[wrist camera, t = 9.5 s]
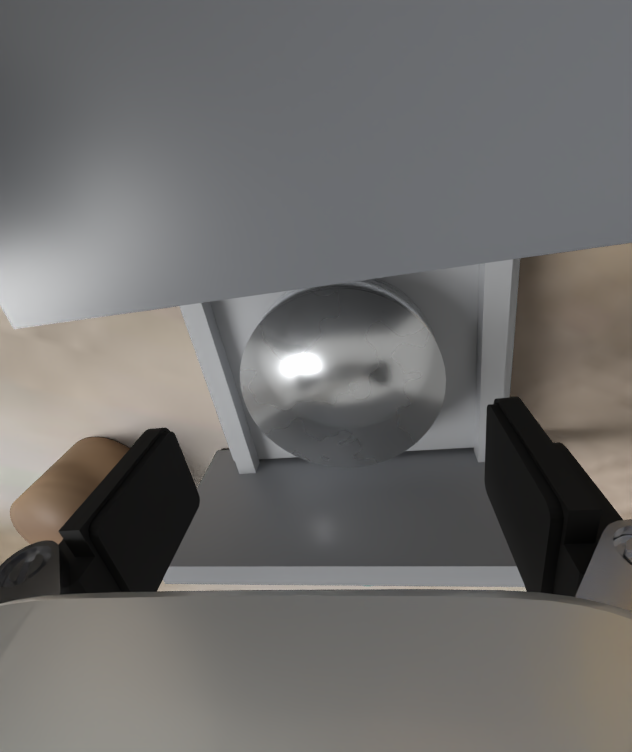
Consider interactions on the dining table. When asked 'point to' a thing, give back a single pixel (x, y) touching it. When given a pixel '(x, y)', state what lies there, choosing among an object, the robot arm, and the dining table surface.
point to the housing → (300, 144)
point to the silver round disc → (343, 373)
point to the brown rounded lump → (64, 488)
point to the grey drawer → (365, 483)
